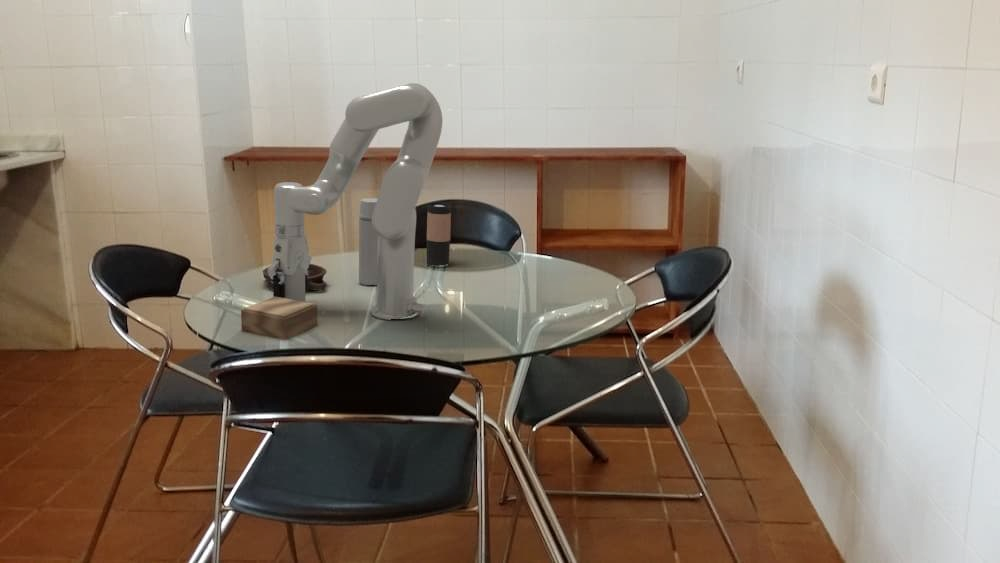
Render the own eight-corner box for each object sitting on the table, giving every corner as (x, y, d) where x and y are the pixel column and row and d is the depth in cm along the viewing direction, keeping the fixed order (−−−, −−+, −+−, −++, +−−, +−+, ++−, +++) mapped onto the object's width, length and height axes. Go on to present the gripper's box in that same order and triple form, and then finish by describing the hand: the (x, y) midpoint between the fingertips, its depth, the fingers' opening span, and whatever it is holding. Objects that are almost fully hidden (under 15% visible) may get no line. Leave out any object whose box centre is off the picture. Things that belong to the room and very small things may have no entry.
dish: (285, 274, 264) (284, 258, 262) (344, 286, 254) (344, 269, 253) (244, 286, 248) (244, 270, 247) (306, 299, 239) (305, 282, 238)
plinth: (317, 324, 218) (317, 303, 216) (285, 339, 206) (285, 317, 205) (275, 316, 223) (274, 295, 221) (241, 330, 211) (241, 308, 210)
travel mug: (423, 262, 285) (425, 202, 280) (446, 261, 287) (448, 202, 282) (428, 268, 278) (430, 206, 273) (451, 267, 280) (454, 206, 275)
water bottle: (371, 288, 252) (371, 203, 246) (352, 283, 257) (352, 199, 250) (393, 282, 259) (394, 200, 253) (374, 277, 264) (375, 196, 257)
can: (270, 308, 229) (269, 264, 226) (289, 301, 236) (288, 259, 232) (292, 313, 226) (291, 268, 223) (311, 306, 232) (310, 263, 229)
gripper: (280, 238, 216) (281, 303, 221) (321, 226, 232) (321, 288, 236) (256, 234, 219) (257, 299, 223) (298, 223, 234) (298, 284, 239)
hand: (290, 293), depth 230 cm, fingers open, 9 cm apart
